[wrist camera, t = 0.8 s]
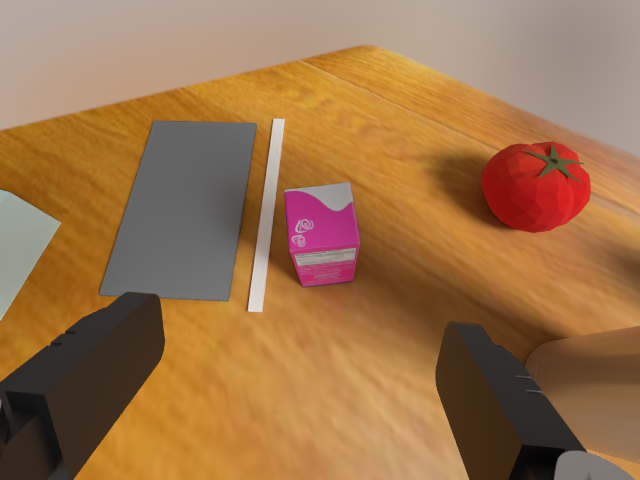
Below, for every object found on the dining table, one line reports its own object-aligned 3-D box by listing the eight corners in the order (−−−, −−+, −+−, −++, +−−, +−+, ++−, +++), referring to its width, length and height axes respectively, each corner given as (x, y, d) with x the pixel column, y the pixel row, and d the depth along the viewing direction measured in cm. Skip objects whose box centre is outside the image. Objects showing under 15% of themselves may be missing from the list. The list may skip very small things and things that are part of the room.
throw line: (284, 120, 45) (284, 119, 44) (262, 312, 35) (261, 311, 34) (273, 120, 45) (273, 118, 44) (248, 311, 35) (247, 311, 34)
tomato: (547, 256, 36) (606, 223, 29) (457, 218, 38) (490, 178, 31) (565, 191, 39) (622, 146, 32) (481, 159, 42) (516, 109, 34)
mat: (256, 125, 44) (255, 123, 44) (228, 301, 35) (227, 300, 35) (155, 123, 45) (153, 120, 45) (101, 295, 36) (98, 294, 35)
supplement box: (295, 240, 38) (283, 186, 27) (346, 234, 38) (354, 179, 27) (299, 289, 36) (288, 251, 25) (354, 283, 36) (365, 243, 25)
